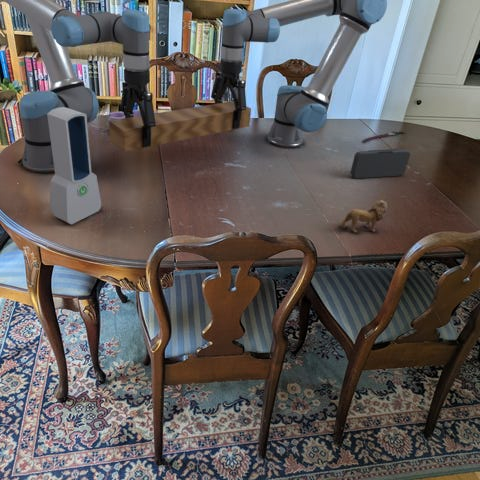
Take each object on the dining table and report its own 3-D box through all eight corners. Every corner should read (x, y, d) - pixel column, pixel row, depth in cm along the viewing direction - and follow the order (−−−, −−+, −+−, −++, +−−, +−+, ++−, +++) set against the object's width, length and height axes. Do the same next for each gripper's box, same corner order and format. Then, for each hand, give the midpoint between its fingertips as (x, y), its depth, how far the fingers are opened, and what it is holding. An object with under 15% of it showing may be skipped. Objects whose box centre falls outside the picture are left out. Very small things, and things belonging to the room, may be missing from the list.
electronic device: (68, 226, 128) (55, 120, 112) (50, 217, 131) (34, 112, 115) (102, 209, 137) (94, 109, 121) (84, 201, 140) (74, 102, 124)
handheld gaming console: (400, 172, 181) (407, 148, 176) (404, 175, 179) (412, 151, 174) (348, 175, 174) (354, 150, 169) (352, 179, 172) (358, 153, 167)
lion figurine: (375, 222, 146) (382, 196, 141) (385, 230, 142) (393, 204, 137) (334, 226, 141) (341, 200, 136) (343, 236, 137) (350, 209, 132)
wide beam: (124, 151, 143) (123, 130, 139) (109, 141, 149) (108, 120, 145) (249, 126, 173) (251, 108, 169) (232, 118, 178) (234, 100, 175)
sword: (401, 130, 224) (401, 128, 224) (406, 132, 222) (407, 130, 222) (357, 141, 209) (358, 139, 208) (363, 144, 207) (363, 141, 206)
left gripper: (168, 77, 133) (167, 150, 145) (128, 59, 146) (130, 127, 159) (145, 79, 129) (146, 155, 141) (106, 60, 142) (110, 131, 154)
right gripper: (261, 66, 154) (254, 131, 167) (219, 52, 168) (215, 113, 180) (244, 68, 150) (238, 134, 162) (202, 53, 163) (200, 115, 176)
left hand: (138, 140), depth 150 cm, fingers closed on wide beam, 10 cm apart
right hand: (226, 123), depth 171 cm, fingers closed on wide beam, 10 cm apart
